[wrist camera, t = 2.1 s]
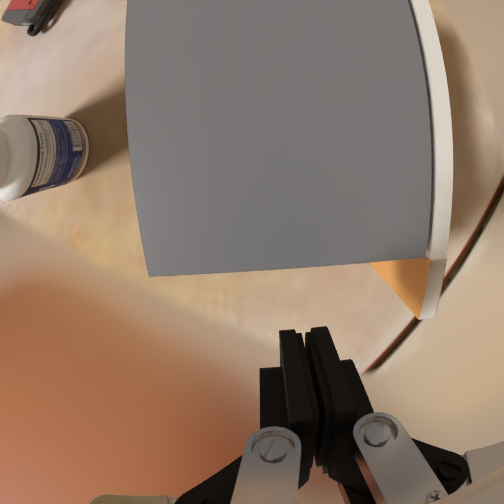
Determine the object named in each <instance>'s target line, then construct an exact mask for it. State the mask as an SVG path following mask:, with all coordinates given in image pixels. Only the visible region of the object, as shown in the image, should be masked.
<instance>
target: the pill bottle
mask: <svg viewBox="0 0 504 504" xmlns="http://www.w3.org/2000/svg"><path fill="white" fill-rule="evenodd" d="M88 153H89V142H88V137H87V134H86V132H85V130H84V128H83V126H82V125H81V124H80V123H79V122H77V121H75V120H73V119H69V118H61V117H48V116H33V115H9V116H5V117H3V118H1V119H0V200H2V201H10V200H15V199H18V198H20V197H24V196H27V195H30V194H33V193H37V192H40V191H44V190H47V189H51V188H54V187H58V186H62V185H65V184H68V183H70V182H72V181H74V180H75V179H76V178H77V177H78V176H79V175H80V174H81V172H82V171H83V169H84V167H85V165H86V162H87V159H88Z"/></svg>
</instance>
